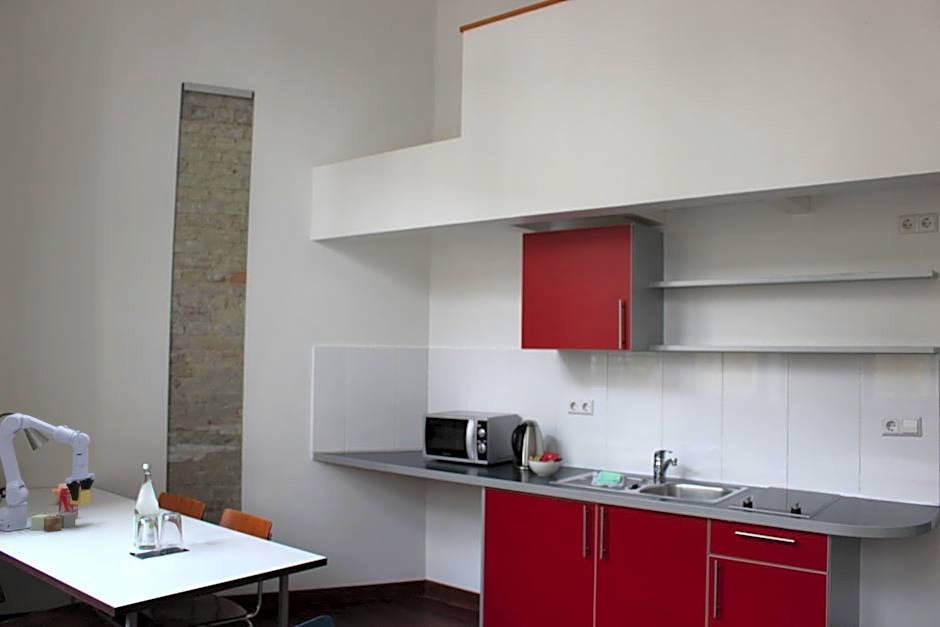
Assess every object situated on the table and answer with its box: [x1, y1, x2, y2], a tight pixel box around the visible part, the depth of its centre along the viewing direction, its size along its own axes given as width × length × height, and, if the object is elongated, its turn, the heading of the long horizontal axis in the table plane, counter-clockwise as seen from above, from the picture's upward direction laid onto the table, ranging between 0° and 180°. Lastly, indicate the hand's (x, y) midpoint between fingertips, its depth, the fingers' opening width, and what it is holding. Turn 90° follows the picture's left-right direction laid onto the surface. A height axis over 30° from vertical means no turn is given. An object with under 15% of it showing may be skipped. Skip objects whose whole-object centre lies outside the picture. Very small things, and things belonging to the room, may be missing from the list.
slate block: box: [55, 512, 76, 529], centre depth 344 cm, size 5×5×5 cm
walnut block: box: [44, 515, 62, 533], centre depth 337 cm, size 5×5×5 cm
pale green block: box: [30, 514, 52, 531], centre depth 340 cm, size 5×5×5 cm
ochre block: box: [70, 489, 91, 506], centre depth 345 cm, size 5×5×5 cm
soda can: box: [58, 486, 79, 519], centre depth 359 cm, size 7×7×13 cm
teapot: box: [51, 482, 81, 502], centre depth 393 cm, size 12×12×10 cm
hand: (79, 499), depth 345 cm, fingers closed on ochre block, 5 cm apart
